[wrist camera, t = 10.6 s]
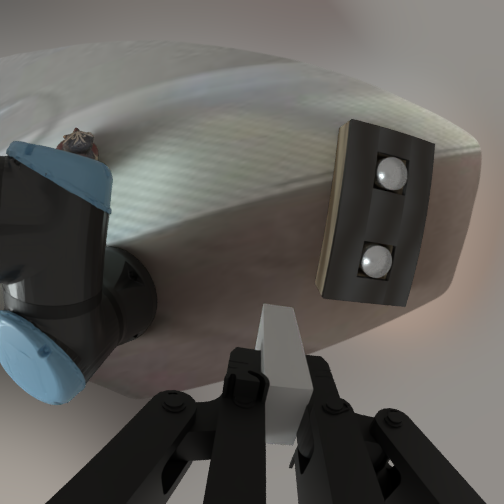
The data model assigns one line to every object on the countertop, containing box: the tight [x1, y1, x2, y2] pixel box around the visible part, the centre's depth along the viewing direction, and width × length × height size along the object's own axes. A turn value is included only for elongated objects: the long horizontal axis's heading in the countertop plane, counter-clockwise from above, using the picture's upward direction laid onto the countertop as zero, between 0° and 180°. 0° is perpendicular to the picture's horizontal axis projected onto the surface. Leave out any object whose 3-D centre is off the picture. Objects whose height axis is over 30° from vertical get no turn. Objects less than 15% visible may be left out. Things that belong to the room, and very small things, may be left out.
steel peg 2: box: [359, 241, 392, 278], centre depth 37 cm, size 4×4×6 cm
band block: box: [315, 119, 435, 307], centre depth 36 cm, size 12×22×6 cm, turn 172°
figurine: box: [56, 128, 98, 161], centre depth 32 cm, size 7×7×12 cm
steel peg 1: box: [373, 157, 407, 190], centre depth 35 cm, size 4×4×6 cm
